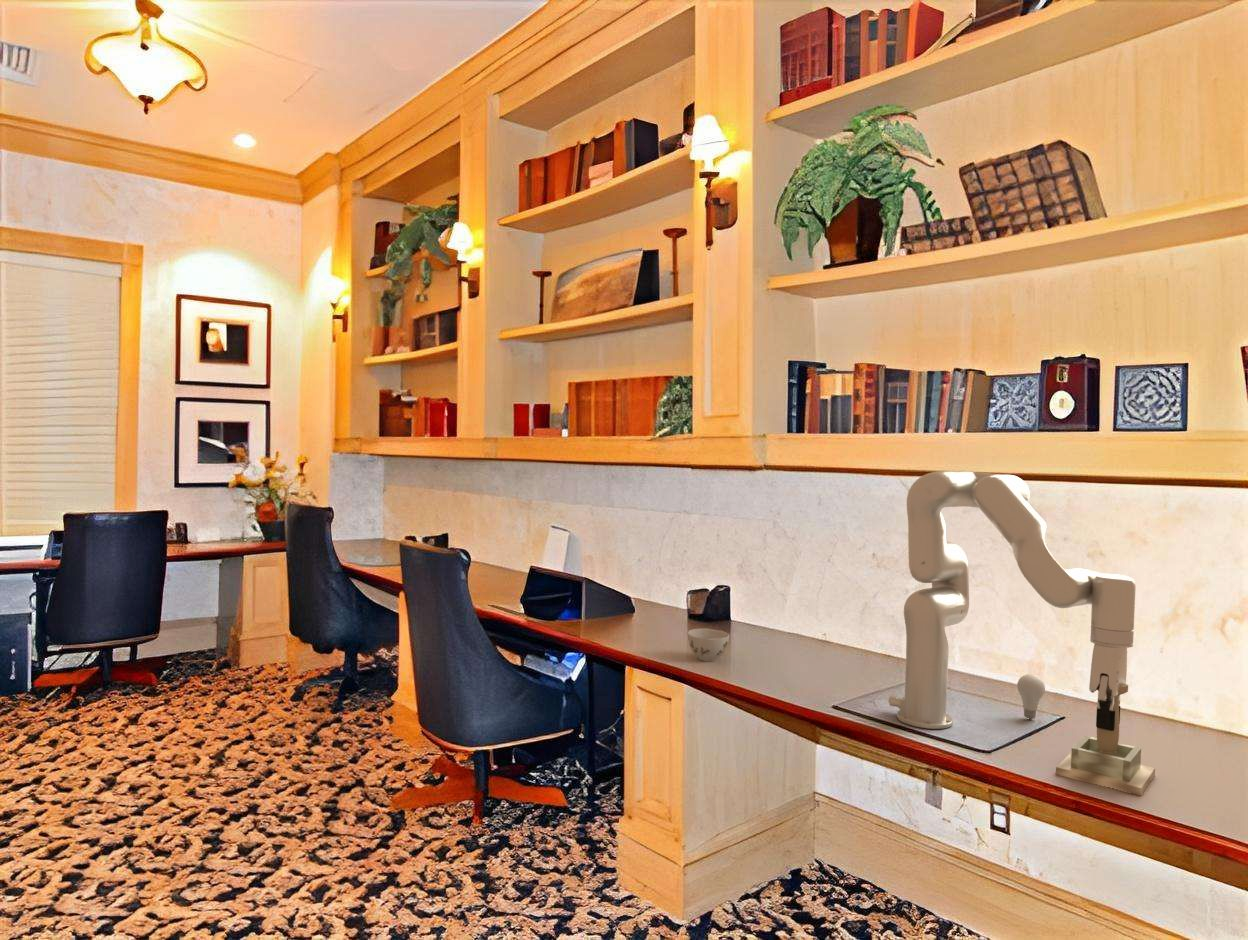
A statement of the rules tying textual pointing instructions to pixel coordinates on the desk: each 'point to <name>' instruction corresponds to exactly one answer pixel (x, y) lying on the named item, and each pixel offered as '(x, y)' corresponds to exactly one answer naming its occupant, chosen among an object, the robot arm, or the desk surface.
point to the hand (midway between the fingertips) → (1107, 725)
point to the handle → (1107, 738)
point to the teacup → (708, 643)
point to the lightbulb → (1030, 693)
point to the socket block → (1107, 767)
